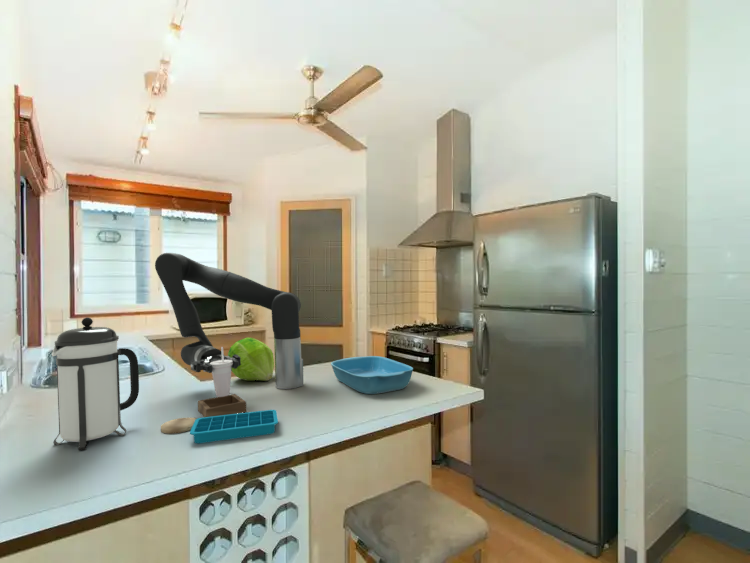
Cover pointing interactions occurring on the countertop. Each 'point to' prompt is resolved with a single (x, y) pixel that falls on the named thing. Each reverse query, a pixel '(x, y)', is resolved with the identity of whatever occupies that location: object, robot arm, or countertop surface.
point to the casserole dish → (372, 374)
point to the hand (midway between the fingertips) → (223, 367)
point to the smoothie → (222, 375)
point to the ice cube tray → (234, 426)
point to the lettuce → (253, 360)
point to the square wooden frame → (221, 406)
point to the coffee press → (91, 383)
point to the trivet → (178, 425)
